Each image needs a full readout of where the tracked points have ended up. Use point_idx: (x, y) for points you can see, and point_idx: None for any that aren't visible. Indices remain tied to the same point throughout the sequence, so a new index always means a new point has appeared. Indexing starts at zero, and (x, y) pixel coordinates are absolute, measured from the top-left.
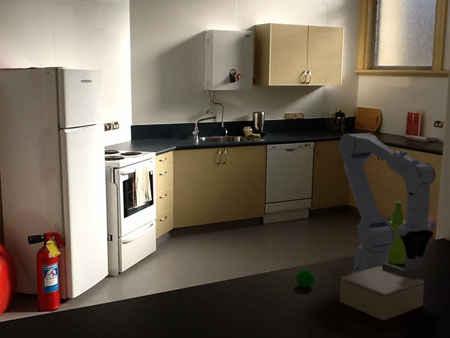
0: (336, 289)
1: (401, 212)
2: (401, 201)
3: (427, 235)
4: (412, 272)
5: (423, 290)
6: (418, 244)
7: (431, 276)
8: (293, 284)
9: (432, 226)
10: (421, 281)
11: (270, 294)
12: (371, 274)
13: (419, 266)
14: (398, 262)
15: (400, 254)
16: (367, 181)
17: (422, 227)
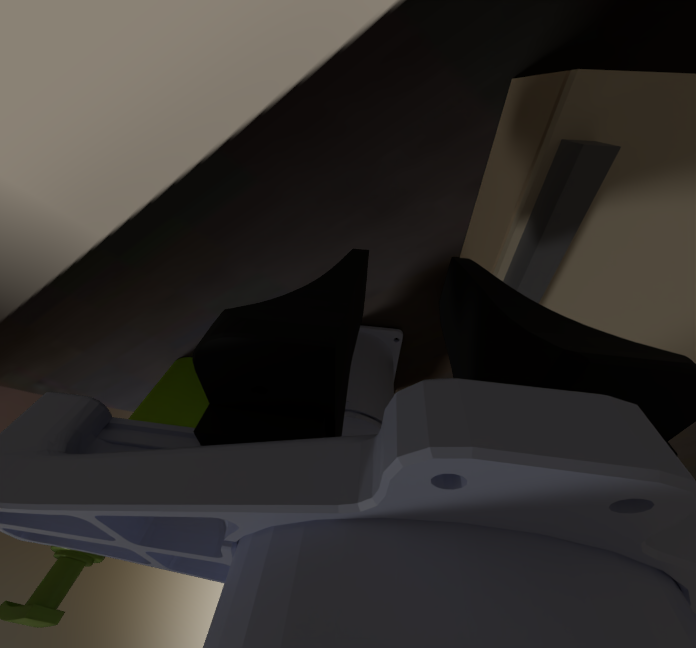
0: None
1: (66, 550)
2: (12, 620)
3: (339, 336)
4: (591, 175)
5: (548, 73)
6: (354, 332)
7: (180, 252)
8: None
9: (74, 431)
10: (611, 73)
11: (683, 439)
12: (622, 335)
13: (155, 320)
14: None
15: (186, 382)
16: None
17: (651, 544)
